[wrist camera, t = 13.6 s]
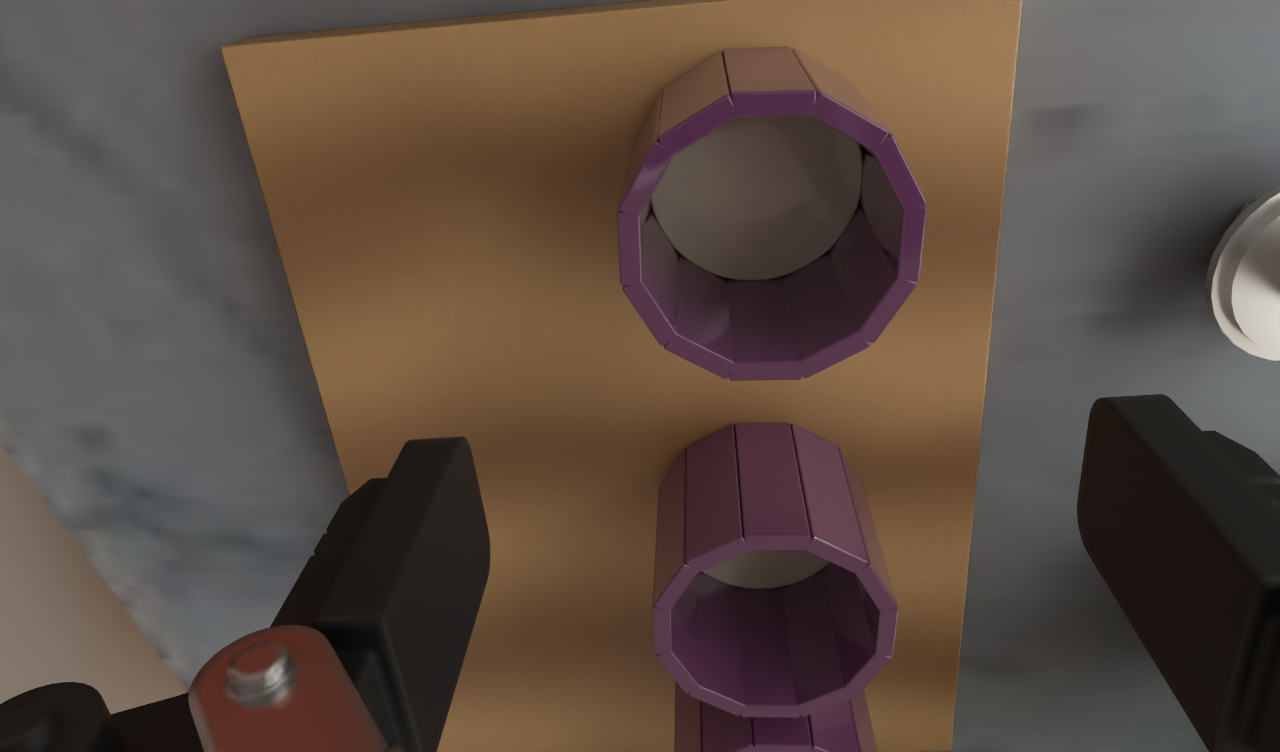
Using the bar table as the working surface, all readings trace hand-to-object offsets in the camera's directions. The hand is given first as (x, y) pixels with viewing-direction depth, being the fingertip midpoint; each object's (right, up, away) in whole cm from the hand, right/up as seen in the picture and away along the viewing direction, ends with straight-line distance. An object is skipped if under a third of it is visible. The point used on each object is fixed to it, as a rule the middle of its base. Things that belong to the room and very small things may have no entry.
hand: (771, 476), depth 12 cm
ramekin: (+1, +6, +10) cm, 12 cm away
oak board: (-1, 0, +15) cm, 15 cm away
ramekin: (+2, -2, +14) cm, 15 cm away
